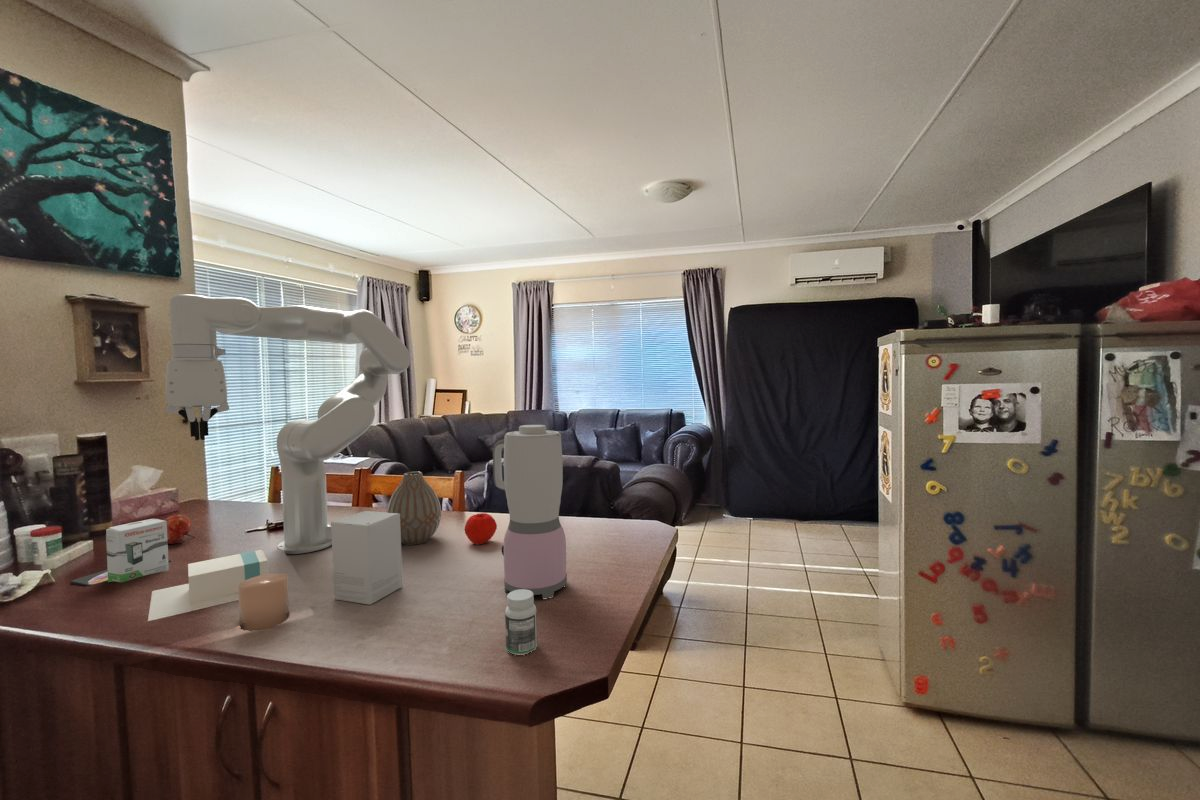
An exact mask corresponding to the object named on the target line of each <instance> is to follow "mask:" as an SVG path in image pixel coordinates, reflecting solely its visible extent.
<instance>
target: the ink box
mask: <svg viewBox="0 0 1200 800" xmlns="http://www.w3.org/2000/svg"><path fill="white" fill-rule="evenodd" d="M164 520H165V519H163V520H162V519H159V518H149V519H144V520H138V521H135V522H134V521H133V522H128V523H125V524H119V525H114V526H110V527H108V528H107V529H105V531H106V532H105V542H106V563H107V568H106V570H108V582H107V583H111V582H116V583H124V582H128V581H131V580H135V579H138V578H141V577H144V576H148V575H154V574H158V573H159V574H160V573H163V572H168V571H169V570H170V565H169V563H168V560H169V545H168V544H169V543H168V540H167V521H164Z"/></svg>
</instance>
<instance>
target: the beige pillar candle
mask: <svg viewBox="0 0 1200 800" xmlns="http://www.w3.org/2000/svg"><path fill="white" fill-rule="evenodd" d="M238 587H239V600H238V601H239V602H238V603H239V604H238V605H239V621H240V622H241V623H242V624H240V627H241V628H240V629H241V630H242V629H243V630H242V631H245V630H249V631H248V632H253V631H252V630H258V631H263V630H267V629H270V627H271V628H274V627H276V626H279V625H281V624H282V623H284V622H285V621H287V620H288V619H289V617H290V612H289V610H290V609H289V607H290V606H289V589H288V575H287V574H286V573H279V572H278V573H277V572H276V573H275V572H273V573H268V574H265V575H260V576H256V577H252V578H250V579H247V580H245V581H243V582H241V583H240V584H239V586H238ZM278 624H279V625H278ZM273 626H274V627H273ZM262 629H263V630H262Z"/></svg>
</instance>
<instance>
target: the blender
mask: <svg viewBox="0 0 1200 800" xmlns="http://www.w3.org/2000/svg"><path fill="white" fill-rule="evenodd" d="M503 438H504V439H500V440H498V441H496V442H495V444H494V445H493V448H492V469H493V483H494V485H495V487H496V488H498V489H499V490H502V491H504V492H505V497H506V500H507V501H506V502H507V503H506V504H507V508H508V514H509V524H508V525H507V526H508V527H507V529H506V532H505V533H504V537H503V545H502V546H501V555H502V556H503V569H504V570H503V571H504V572H503V574H504V578H503V580H504V581H503V582H504V585H503V586H504V592H505V591H507V592H512V591H514V590H519V589H526V590H530V591H532V592H533V594H534V596H536V595H541V598H549V597H552V596H553V597H554V594H555V592H556V591H558V590H560V589H562V588H563V587H564V586H565V587H566V588H567V583H568V577H567V575H568V574H567V541H566V540H567V539H566V534H565V531H564V528H563V526H562V524H561V522H560V516H559V515H560V514H559V513H560V507H561V500H562V499H561V498H562V491H563V483H564V482H563V480H564V479H563V478H564V475H563V474H564V473H563V470H564V469H563V467H564V466H563V463H564V462H563V461H564V459H563V449H562V447H563V445H562V434H561V433H560V432H559V431H557V430H549V429H548V430H547V426H546V425H545V424H523V425H520V426H519V427H518V430H515V431H509V432H506V433H505V434H504V437H503ZM502 450H503V461H502ZM502 462H503V465H502ZM502 467H503V469H502Z"/></svg>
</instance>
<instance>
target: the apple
mask: <svg viewBox="0 0 1200 800" xmlns="http://www.w3.org/2000/svg"><path fill="white" fill-rule="evenodd" d="M497 526H498V525H497V522H496V520H495V518H494V517H493V516H492V515H491V514H489V513H485V512H482V513H476V514H473V515H470V517H468V519H467V520H466V522H465V525H464V530H463V531H464V534H465V536H466V537H467V539H468V540H469V542H471V543H472V544H474V545H482V544H483V545H484V544H485V543H487V542H489V541H490V540H491V539H492V537H494V535H495V533H496V531H497Z"/></svg>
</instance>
